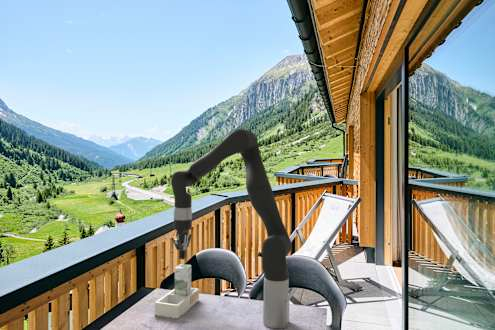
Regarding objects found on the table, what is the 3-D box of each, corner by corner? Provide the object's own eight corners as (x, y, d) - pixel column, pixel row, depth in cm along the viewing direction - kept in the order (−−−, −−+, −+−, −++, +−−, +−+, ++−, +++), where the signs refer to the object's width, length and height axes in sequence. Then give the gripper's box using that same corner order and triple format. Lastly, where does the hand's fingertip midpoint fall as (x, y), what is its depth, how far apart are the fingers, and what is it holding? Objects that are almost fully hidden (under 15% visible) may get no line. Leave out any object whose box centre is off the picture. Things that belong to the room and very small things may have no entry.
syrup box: (191, 298, 154) (191, 264, 154) (187, 303, 149) (187, 268, 148) (178, 297, 155) (178, 263, 155) (173, 302, 149) (174, 267, 149)
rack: (199, 300, 155) (199, 288, 155) (178, 319, 137) (178, 306, 137) (177, 297, 158) (177, 285, 158) (154, 315, 140) (154, 302, 140)
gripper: (183, 221, 145) (183, 264, 145) (197, 216, 157) (197, 255, 158) (167, 219, 147) (166, 262, 147) (182, 215, 160) (181, 254, 160)
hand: (182, 258), depth 153 cm, fingers closed
